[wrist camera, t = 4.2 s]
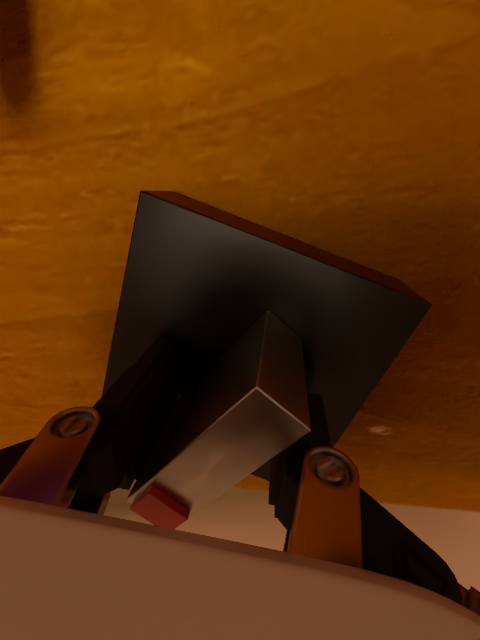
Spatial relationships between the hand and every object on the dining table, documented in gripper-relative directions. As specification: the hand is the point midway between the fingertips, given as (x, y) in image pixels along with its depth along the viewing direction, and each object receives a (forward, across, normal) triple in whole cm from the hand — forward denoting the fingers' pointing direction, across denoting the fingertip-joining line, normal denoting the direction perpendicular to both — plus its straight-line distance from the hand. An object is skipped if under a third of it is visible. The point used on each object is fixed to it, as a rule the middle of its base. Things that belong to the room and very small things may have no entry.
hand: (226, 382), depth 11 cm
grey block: (0, 0, 0) cm, 1 cm away
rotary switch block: (+3, 0, 0) cm, 3 cm away
